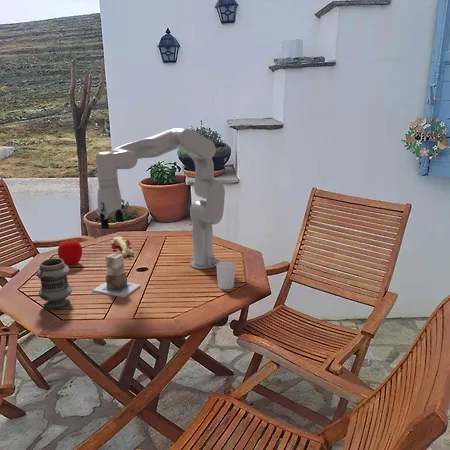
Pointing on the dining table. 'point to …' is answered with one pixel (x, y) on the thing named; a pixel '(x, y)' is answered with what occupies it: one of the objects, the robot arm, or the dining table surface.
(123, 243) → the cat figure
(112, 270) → the ash pillar
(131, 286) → the board
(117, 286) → the walnut cube
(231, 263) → the white cup
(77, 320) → the dining table surface
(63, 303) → the apothecary jar
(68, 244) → the tomato
